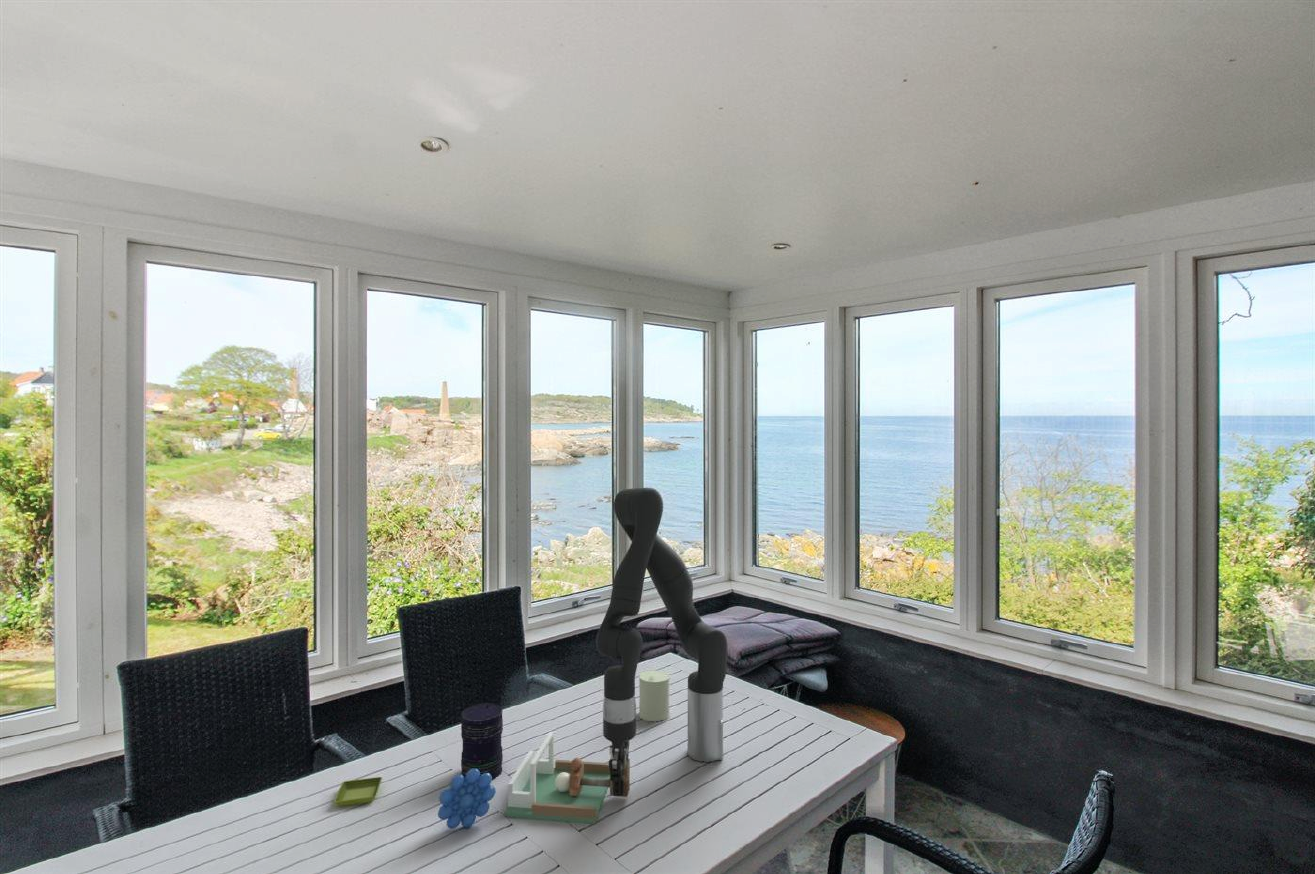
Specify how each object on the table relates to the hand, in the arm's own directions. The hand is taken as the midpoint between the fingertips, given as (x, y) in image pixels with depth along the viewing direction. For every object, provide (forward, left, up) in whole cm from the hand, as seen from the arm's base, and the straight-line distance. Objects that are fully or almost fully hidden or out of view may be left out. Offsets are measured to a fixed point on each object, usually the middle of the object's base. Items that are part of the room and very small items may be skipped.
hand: (619, 789), depth 141 cm
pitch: (+14, 0, -2) cm, 14 cm away
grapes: (+31, +13, -2) cm, 33 cm away
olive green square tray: (+60, +6, -3) cm, 60 cm away
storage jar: (+36, -7, -2) cm, 36 cm away
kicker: (+5, 0, -1) cm, 5 cm away
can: (-2, -44, -2) cm, 44 cm away
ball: (+13, 0, +1) cm, 13 cm away
